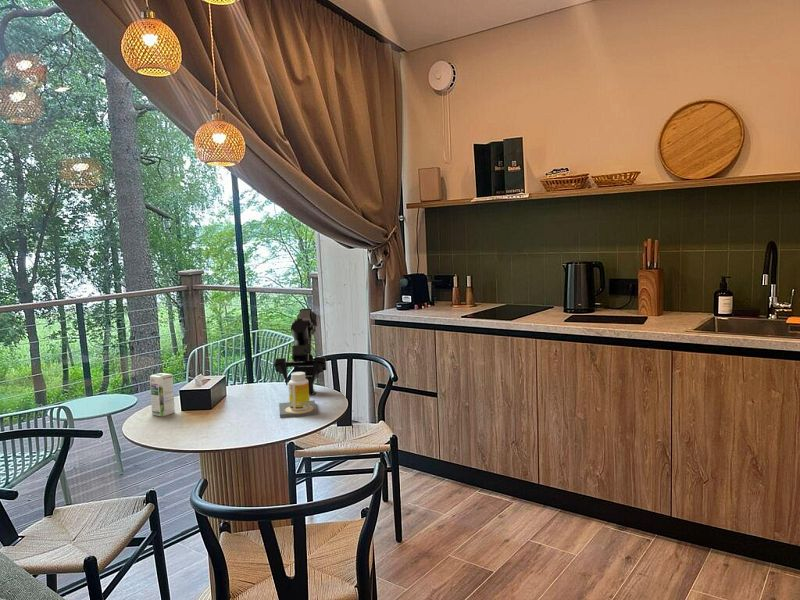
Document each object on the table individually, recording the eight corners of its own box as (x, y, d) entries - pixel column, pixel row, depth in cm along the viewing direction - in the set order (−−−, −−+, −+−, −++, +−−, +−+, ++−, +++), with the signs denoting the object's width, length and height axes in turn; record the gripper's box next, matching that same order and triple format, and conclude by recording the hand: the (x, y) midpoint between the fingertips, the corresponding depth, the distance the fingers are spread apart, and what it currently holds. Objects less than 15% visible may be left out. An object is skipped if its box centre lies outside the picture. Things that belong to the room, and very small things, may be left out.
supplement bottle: (313, 407, 209) (312, 372, 208) (301, 412, 203) (299, 376, 202) (298, 404, 213) (296, 370, 211) (285, 410, 207) (284, 374, 205)
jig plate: (279, 406, 217) (279, 402, 216) (314, 403, 219) (314, 399, 219) (279, 418, 202) (279, 414, 201) (317, 415, 204) (317, 411, 204)
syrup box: (151, 415, 210) (148, 375, 208) (164, 410, 215) (162, 372, 213) (162, 417, 207) (159, 377, 205) (175, 412, 212) (173, 373, 211)
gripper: (273, 336, 213) (270, 373, 204) (324, 335, 214) (323, 371, 205) (277, 353, 222) (274, 389, 212) (326, 351, 223) (326, 387, 213)
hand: (299, 384), depth 210 cm, fingers open, 9 cm apart
